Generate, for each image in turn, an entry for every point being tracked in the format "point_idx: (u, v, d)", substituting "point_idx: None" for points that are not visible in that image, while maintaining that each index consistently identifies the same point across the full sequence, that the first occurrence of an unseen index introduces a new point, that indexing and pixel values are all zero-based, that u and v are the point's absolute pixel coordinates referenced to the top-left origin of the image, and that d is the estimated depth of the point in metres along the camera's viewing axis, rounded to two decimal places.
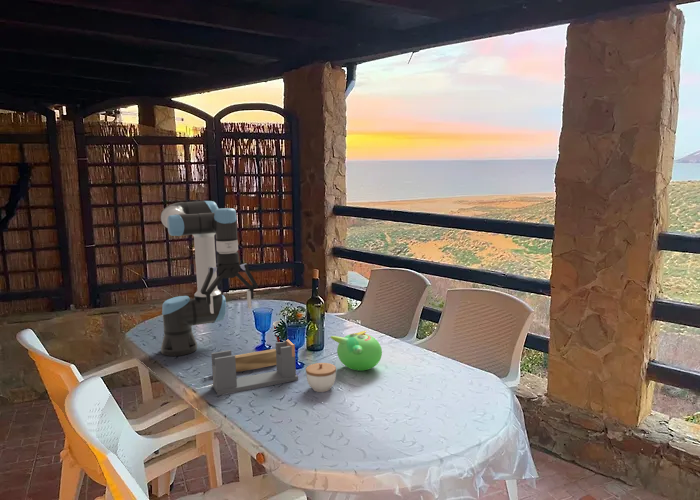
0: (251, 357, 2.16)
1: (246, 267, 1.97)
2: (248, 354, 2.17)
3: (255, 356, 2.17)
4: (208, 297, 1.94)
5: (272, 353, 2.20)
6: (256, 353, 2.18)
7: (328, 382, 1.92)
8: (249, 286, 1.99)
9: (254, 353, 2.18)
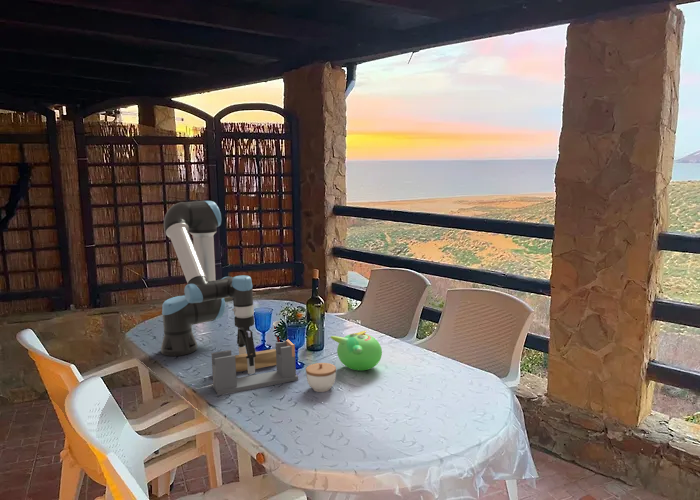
0: None
1: (245, 335, 2.09)
2: None
3: None
4: None
5: (272, 353, 2.20)
6: (256, 353, 2.18)
7: (328, 382, 1.92)
8: (247, 353, 2.09)
9: None
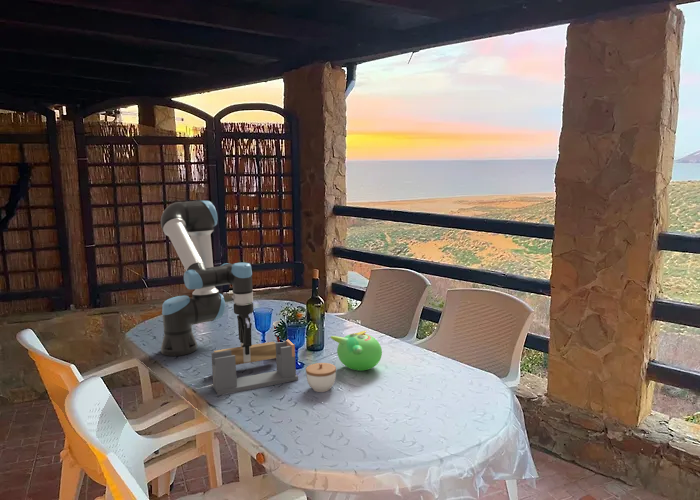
0: (250, 349, 2.16)
1: (244, 325, 2.09)
2: None
3: (254, 348, 2.17)
4: None
5: (271, 346, 2.20)
6: (255, 345, 2.18)
7: (328, 382, 1.92)
8: (243, 342, 2.13)
9: (253, 345, 2.18)
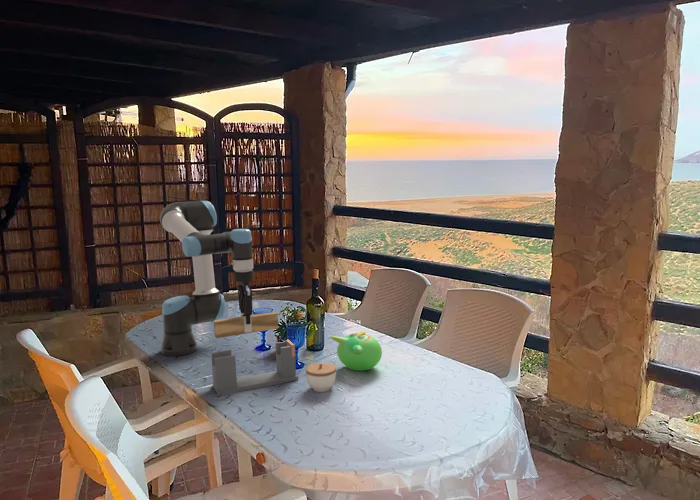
0: (251, 319, 2.08)
1: (245, 293, 2.02)
2: None
3: (255, 318, 2.09)
4: (242, 314, 2.11)
5: (273, 316, 2.12)
6: (256, 315, 2.10)
7: (328, 382, 1.92)
8: (244, 311, 2.06)
9: (254, 315, 2.10)
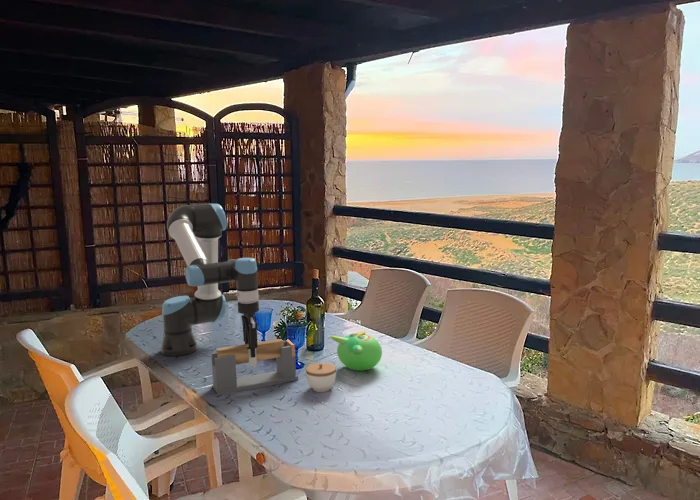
0: None
1: (249, 325, 1.93)
2: None
3: (260, 346, 2.00)
4: None
5: (279, 343, 2.03)
6: (261, 343, 2.01)
7: (328, 382, 1.92)
8: (248, 343, 1.97)
9: (259, 343, 2.01)
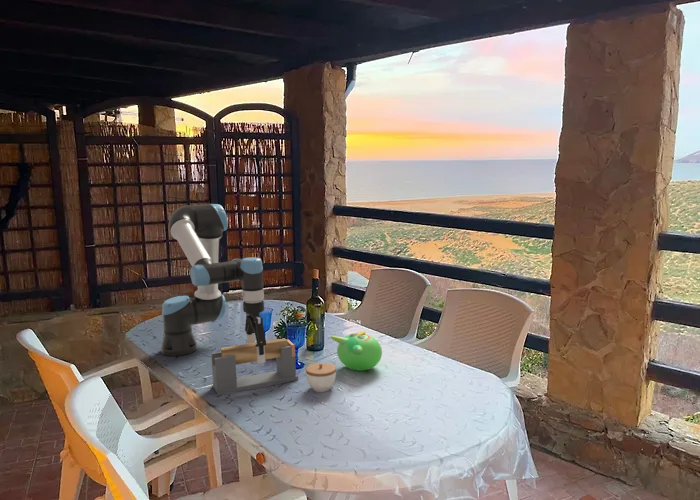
0: None
1: (255, 321, 1.93)
2: None
3: (264, 345, 2.01)
4: None
5: (282, 342, 2.04)
6: None
7: (328, 382, 1.92)
8: None
9: None
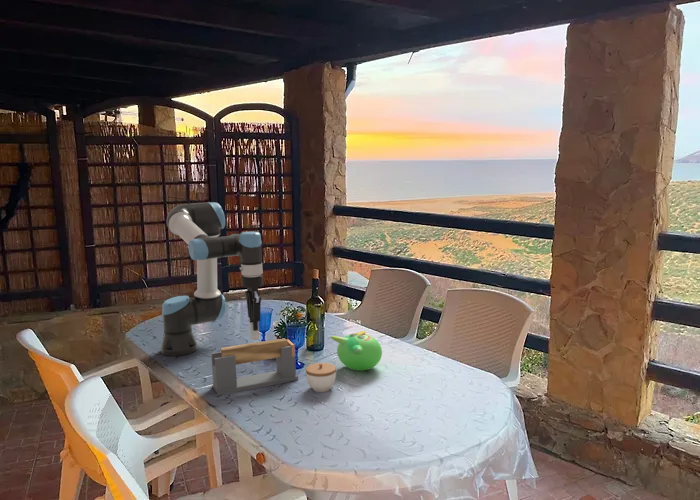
0: (260, 346, 2.00)
1: (253, 300, 1.93)
2: (257, 343, 2.01)
3: (264, 345, 2.01)
4: None
5: (282, 342, 2.04)
6: (265, 342, 2.02)
7: (328, 382, 1.92)
8: (251, 317, 1.98)
9: (263, 342, 2.02)
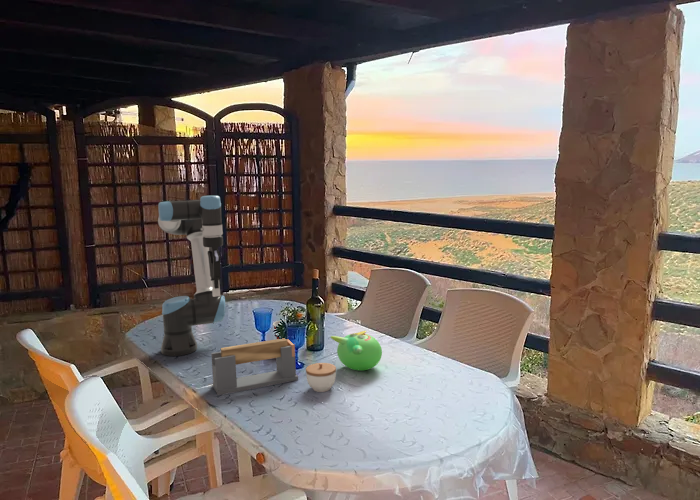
0: (260, 346, 2.00)
1: (213, 258, 2.07)
2: (257, 343, 2.01)
3: (264, 345, 2.01)
4: None
5: (282, 342, 2.04)
6: (265, 342, 2.02)
7: (328, 382, 1.92)
8: (212, 275, 2.12)
9: (263, 342, 2.02)
